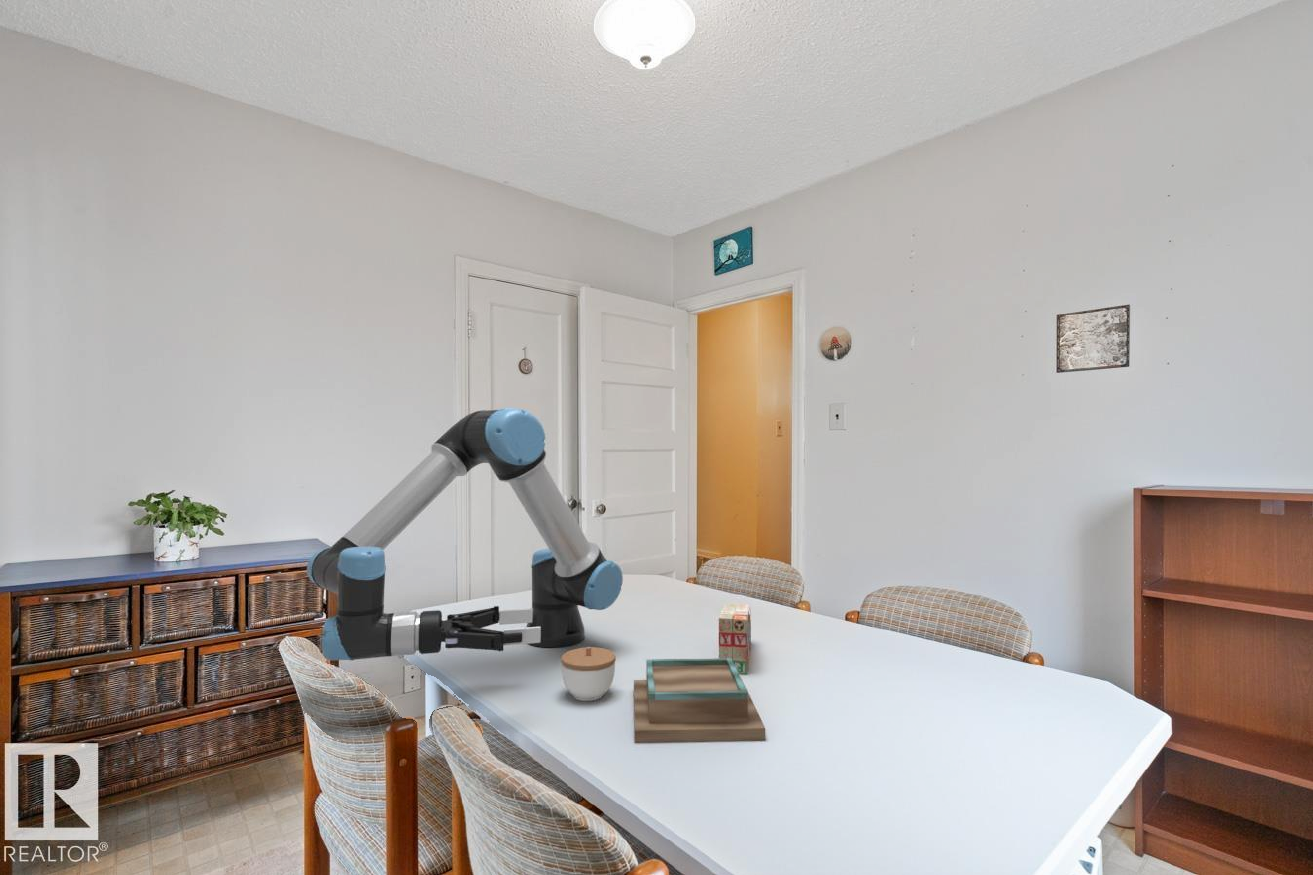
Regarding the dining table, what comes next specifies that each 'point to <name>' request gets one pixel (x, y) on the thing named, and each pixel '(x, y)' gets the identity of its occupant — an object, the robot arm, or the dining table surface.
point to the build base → (692, 728)
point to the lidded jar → (588, 672)
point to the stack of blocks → (735, 635)
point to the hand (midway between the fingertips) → (536, 624)
